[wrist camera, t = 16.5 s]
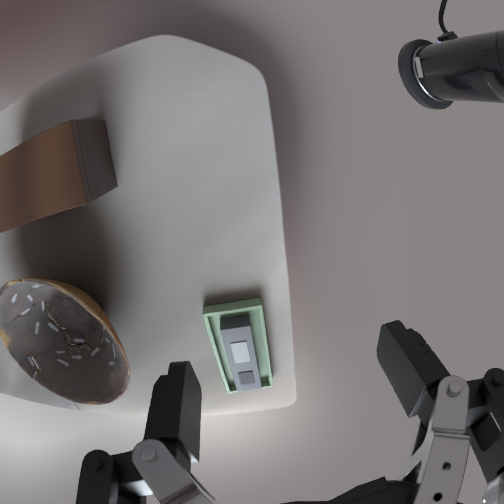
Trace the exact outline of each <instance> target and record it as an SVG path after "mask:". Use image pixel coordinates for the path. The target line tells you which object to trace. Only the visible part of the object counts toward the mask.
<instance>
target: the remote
mask: <svg viewBox="0 0 504 504" xmlns="http://www.w3.org/2000/svg"><path fill="white" fill-rule="evenodd" d="M220 332H221V336H222V340H223V343H224V347H225V351H226V354H227V358H228V361H229V365H230V368H231V372H232V375H233V379H234V382H235V386H236V389H237V392H240V391H248V390H254V389H261V388H262V384H261V378H260V373H259V367H258V362H257V356H256V351H255V345H254V340H253V334H252V329H251V323H250V318H249V314H242V315H235V316H229V317H222V318H220Z"/></svg>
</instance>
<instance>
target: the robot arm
mask: <svg viewBox="0 0 504 504" xmlns="http://www.w3.org/2000/svg"><path fill="white" fill-rule="evenodd" d="M446 2H447V0H442V2H441V6H440V10H439V24H440V27H441V29H442V31H443V32H444V34H443V35H441V36H440V37H438V40H439V43H434V44H431V45H426V46H421V47H418V48H417V49H415V50H414V52H413V54H412V56H411V71H412V74H413V77H414V80H415V82H416V84H417V85H418V87H419V88H420V90H421V91H422V92H423V93H424V94H425V95H426V96H427V97H428V98H430V99H432V100H434V101H438V102H443V101H480V102H497V103H504V30H500V31H493V32H487V33H481V34H475V35H470V36H465V37H460V38H458V37H457V35H456V34H455V33H454V32H453V31H452V32H448V31H447V30H446V29H445V27H444V23H443V15H444V10H445V6H446ZM377 357H378V361H379V363H380V365H381V367H382V369H383V370H384V372H385V374H386V376H387V378H388V379H389V381H390V383H391V385H392V387H393V389H394V391H395V392H396V394H397V396H398V398H399V400H400V402H401V404H402V406H403V408H404V410H405V412H406V414H407V416H408V418H411V417H413V416H415V415H418V416H419V421H418V425H417V429H416V433H415V436H414V440H413V443H412V447H411V450H410V453H409V457H408V459H407V461H406V463H405V465H404V467H403V469H402V471H401V473H400V476H399V478H398V480H390V481H389V480H388V481H386V479H385V477H381V478H379V479H376V480H373V481H371V482H368V483H365V484H362V485H359V486H356V487H355V488H353V489H351V490H349V491H347V492H346V493H344V494H342V495H340V496H338V497H336V498H334V499H332V500H329V501H310V502H309V501H305V502H304V501H295V502H289V503H282V504H463V503H460V502H457V500H458V497H459V493H460V489H461V486H462V482H463V477H464V473H465V468H466V464H467V458H468V453H469V446H470V444H471V446H472V449H473V451H474V453H475V455H476V457H477V460H478V462H479V464H480V467H481V469H482V472H483V474H484V476H485V479H486V481H487V484H488V485H487V487H486V489H485V493H484V495H483V501H484V502H485V504H504V371H503V370H502V369H499V368H492V369H490V370H488V371H487V372H486V374H485V376H484V377H483V378H482V379H477V380H471V381H465V380H464V379H463V378H461V377H459V376H455V375H452V376H451V375H450V374H449V372H448V371H447V370H446V368H445V367H444V365H443V364H442V363H441V361H440V360H439V359H438V357H437V356H436V354H435V353H434V352H433V351H432V350H431V348H430V346H429V345H428V344H426V341H425V340H424V338H423V337H422V336H421V335H420V334H419V333H418V332H416V331H414V330H413V329H411V328H410V329H406V328H405V326H404V325H403V324H402V322H400V321H399V320H396V321H393V322H390V323H386V324H383V325H382V326H381V330H380V336H379V341H378V346H377ZM201 399H202V394H201V387H200V384H199V381H198V379H197V377H196V375H195V372H194V370H193V368H192V366H191V363H190V362H189V361H181V362H171V363H170V365H169V370H168V375H161V376H160V377H159V378H158V380H157V381H156V383H155V384H154V387H153V392H152V398H151V402H150V407H149V412H148V418H147V423H146V429H145V434H144V438H143V441H141V442H139V443H138V444H137V445H136V446H135V447H134V449H133V450H132V451H129V452H125V453H120V454H116V455H109V454H108V453H107V452H105V451H103V450H93V451H91V452H89V453H88V454H87V455H86V456H85V457H84V459H83V462H82V467H81V473H80V478H79V485H78V491H77V498H76V504H146V495H151V494H154V495H155V496H156V498H157V499H158V501H159V502H160V504H220V503H219V502H218V501H217V500H216V499H215V498H214V497H213V496H212V495H211V494H210V493H209V492H208V490H207V489H206V488H205V487H204V486H203V485H202V484H201V483H200V482H199V481H198V480H197V478H196V477H195V476H194V475H193V474H192V473H191V472H190V470H191V462H199V449H200V421H201V420H200V419H201ZM491 412H492V414H493V416H494V418H495V420H496V422H497V423H498V425H499V427H500V430H501V432H500V430H499V429H498V427H497V425H496V423H495V421H494V419H493V417H492V416H491V414H490V413H491Z"/></svg>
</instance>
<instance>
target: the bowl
mask: <svg viewBox="0 0 504 504" xmlns="http://www.w3.org/2000/svg"><path fill="white" fill-rule="evenodd" d="M45 302H46V304H47V306H48V308H49V310H50V313H51V314H52V316H53V318H54V320H55V321H56V322H57V323H58V325H59V326H60V327H65V328H67V329H65V330H62V329H61V328H60V327H59V326H57V325H56V324H55V323H54V322H53V320H51V319H50V318H49V317H48V315H47V311H46V309H45ZM0 335H1V338H2V340H3V342H4V344H5V345H6V347H7V349H8V350H9V352H10V354H11V355H12V357H13V358H14V359H15V361H16V362H17V363H18V364H19V365H20V366H21V367H22V369H23V370H24V371H25V372H26V373H27V374H28V375H29V376H31V378H32V379H34V380H35V381H36V382H37V383H39V384H40V385H42V386H43V387H45V388H46V389H47V390H49V391H51V392H53V393H55V394H57V395H58V396H60V397H62V398H65V399H68V400H71V401H74V402H77V403H84V404H94V405H100V404H106V403H111V402H113V401H115V400H116V399H118V398H119V397H121V396H122V395H124V394H125V392H126V390H127V389H128V385H129V380H130V374H129V373H130V368H129V364H128V361H127V358H126V355H125V351H124V348H123V346H122V344H121V342H120V340H119V338H118V336H117V334H116V332H115V330H114V328H113V326H112V324H111V323H110V321H109V319H108V318H107V316H106V314H105V313H104V312H103V310H102V309H101V307H100V306H99V305H98V304H97V303H96V301H95V300H94V299H93V298H92V297H91V296H90V295H88V294H87V293H86V292H84V291H83V290H81V289H79V288H78V287H75V286H73V285H70V284H67V283H64V282H61V281H56V280H50V279H46V278H21V279H20V280H14V281H10V282H7V283H6V284H4V285H3V287H2V288H1V290H0ZM71 344H77V345H71ZM93 348H94V349H93ZM27 353H28V354H27ZM31 356H33V358H34V360H35V361H36V363H37V365H38V366H39V369H37V366H36V365H35V363H34V361H33V360H32V358H31Z"/></svg>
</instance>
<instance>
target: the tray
mask: <svg viewBox="0 0 504 504" xmlns="http://www.w3.org/2000/svg"><path fill="white" fill-rule="evenodd" d="M242 314H249V318H250V323H251V329H252V334H253V340H254V345H255V351H256V356H257V362H258V367H259V373H260V378H261V384H262V388H261V389H263V388H270V387H273V380H272V372H271V365H270V358H269V351H268V343H267V336H266V329H265V322H264V314H263V307H262V302H261V298H255V299H249V300H242V301H236V302H230V303H223V304H216V305H209V306H203V318H204V321H205V324H206V328H207V331H208V335H209V338H210V341H211V344H212V348H213V351H214V354H215V357H216V360H217V364H218V367H219V370H220V373H221V376H222V379H223V382H224V385H225V388H226V391H227V393H236V392H237V389H236V386H235V382H234V379H233V375H232V372H231V368H230V365H229V361H228V358H227V354H226V351H225V347H224V343H223V340H222V336H221V332H220V318H222V317H229V316H235V315H242ZM254 390H257V389H254ZM248 391H250V390H248ZM240 392H243V391H240Z"/></svg>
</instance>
